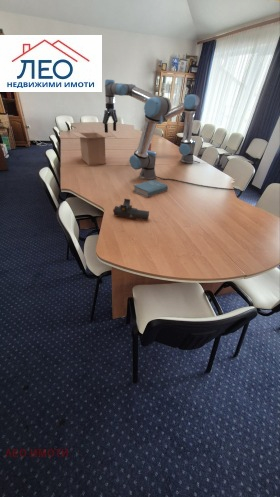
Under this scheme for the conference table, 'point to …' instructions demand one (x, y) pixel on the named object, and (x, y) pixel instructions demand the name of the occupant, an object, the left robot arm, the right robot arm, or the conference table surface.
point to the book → (150, 188)
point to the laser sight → (130, 211)
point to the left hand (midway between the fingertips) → (110, 131)
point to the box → (92, 146)
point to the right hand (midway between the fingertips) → (146, 150)
